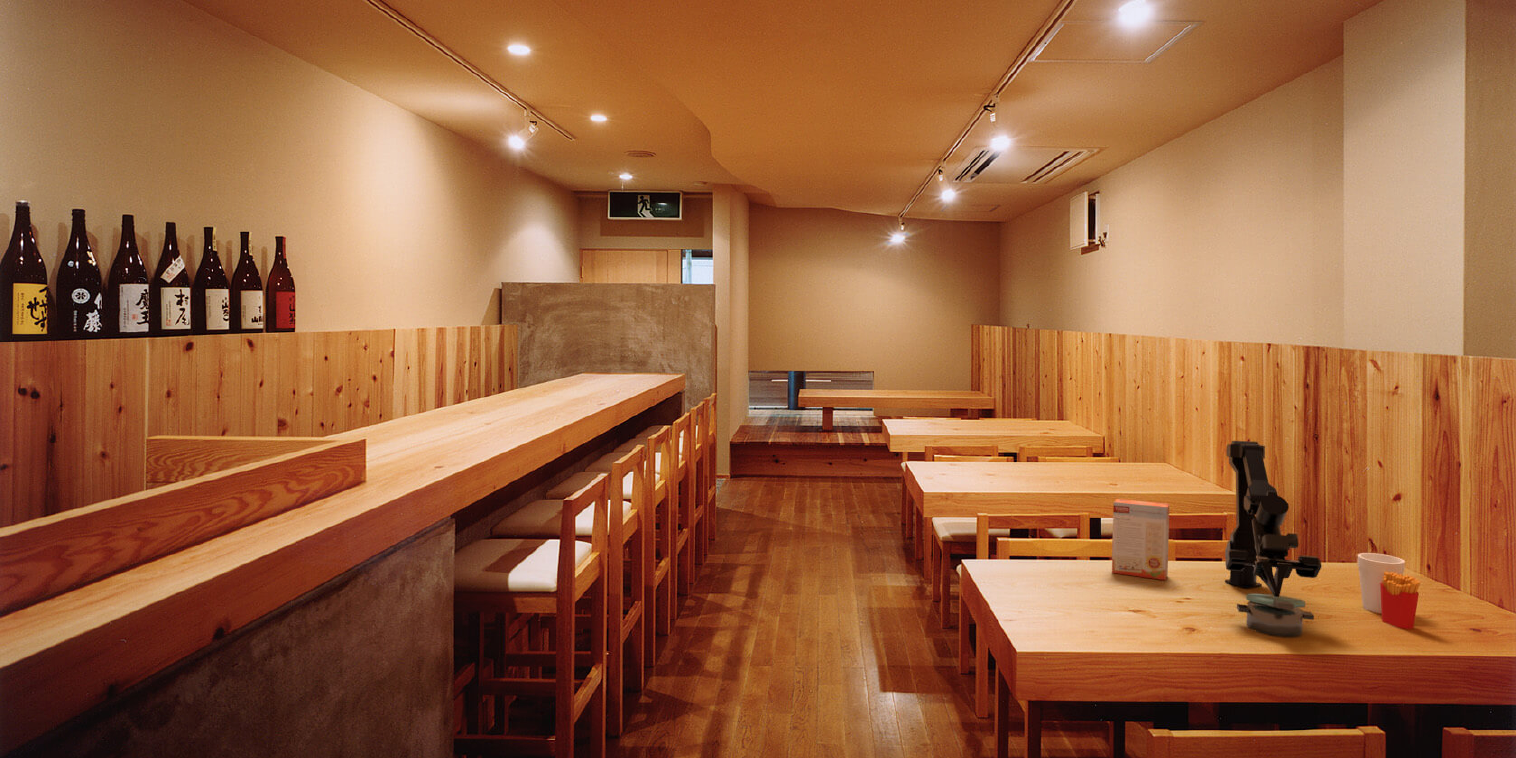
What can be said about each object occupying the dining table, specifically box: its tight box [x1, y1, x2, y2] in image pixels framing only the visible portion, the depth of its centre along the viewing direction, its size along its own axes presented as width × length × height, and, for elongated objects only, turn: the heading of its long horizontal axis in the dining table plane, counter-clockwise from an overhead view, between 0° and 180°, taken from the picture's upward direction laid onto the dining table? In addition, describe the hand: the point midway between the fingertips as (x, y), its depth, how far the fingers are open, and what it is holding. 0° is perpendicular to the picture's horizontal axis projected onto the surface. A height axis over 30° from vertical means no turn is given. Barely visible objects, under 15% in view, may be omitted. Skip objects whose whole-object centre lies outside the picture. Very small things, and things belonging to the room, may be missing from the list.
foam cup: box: [1356, 552, 1406, 614], centre depth 202 cm, size 10×9×13 cm
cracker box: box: [1111, 498, 1170, 581], centre depth 230 cm, size 14×6×21 cm, turn 58°
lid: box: [1245, 593, 1306, 610], centre depth 187 cm, size 15×12×1 cm
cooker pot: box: [1236, 600, 1315, 638], centre depth 190 cm, size 12×15×5 cm
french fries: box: [1380, 572, 1421, 630], centre depth 192 cm, size 8×4×12 cm, turn 9°
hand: (1277, 596), depth 187 cm, fingers closed
